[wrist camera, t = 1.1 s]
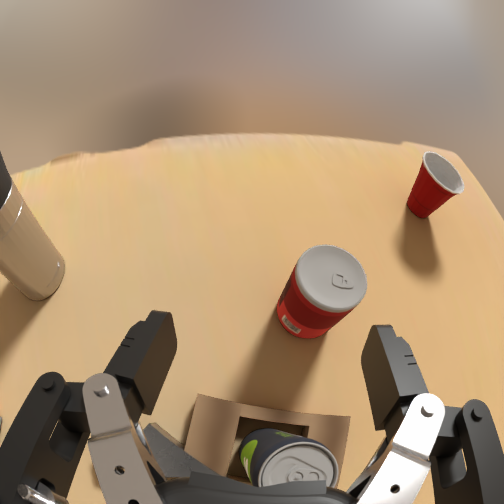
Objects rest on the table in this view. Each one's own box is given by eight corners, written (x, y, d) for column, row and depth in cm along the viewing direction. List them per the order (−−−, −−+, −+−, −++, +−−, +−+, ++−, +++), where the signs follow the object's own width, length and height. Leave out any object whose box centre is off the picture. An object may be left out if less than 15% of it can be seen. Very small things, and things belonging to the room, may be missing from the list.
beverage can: (297, 434, 28) (352, 445, 15) (282, 478, 24) (326, 516, 12) (247, 421, 28) (270, 430, 16) (231, 466, 25) (242, 505, 12)
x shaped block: (214, 543, 18) (214, 552, 15) (93, 456, 22) (84, 458, 20) (263, 495, 23) (267, 502, 20) (138, 407, 27) (131, 406, 25)
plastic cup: (404, 223, 49) (435, 181, 39) (392, 185, 55) (416, 144, 45) (441, 233, 49) (473, 196, 39) (428, 196, 55) (453, 160, 45)
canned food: (332, 341, 35) (371, 312, 26) (274, 338, 34) (296, 307, 25) (330, 290, 39) (363, 248, 30) (276, 285, 39) (295, 239, 29)
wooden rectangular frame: (180, 475, 23) (177, 479, 21) (199, 394, 29) (197, 393, 27) (327, 492, 23) (334, 497, 21) (342, 416, 29) (350, 416, 27)
